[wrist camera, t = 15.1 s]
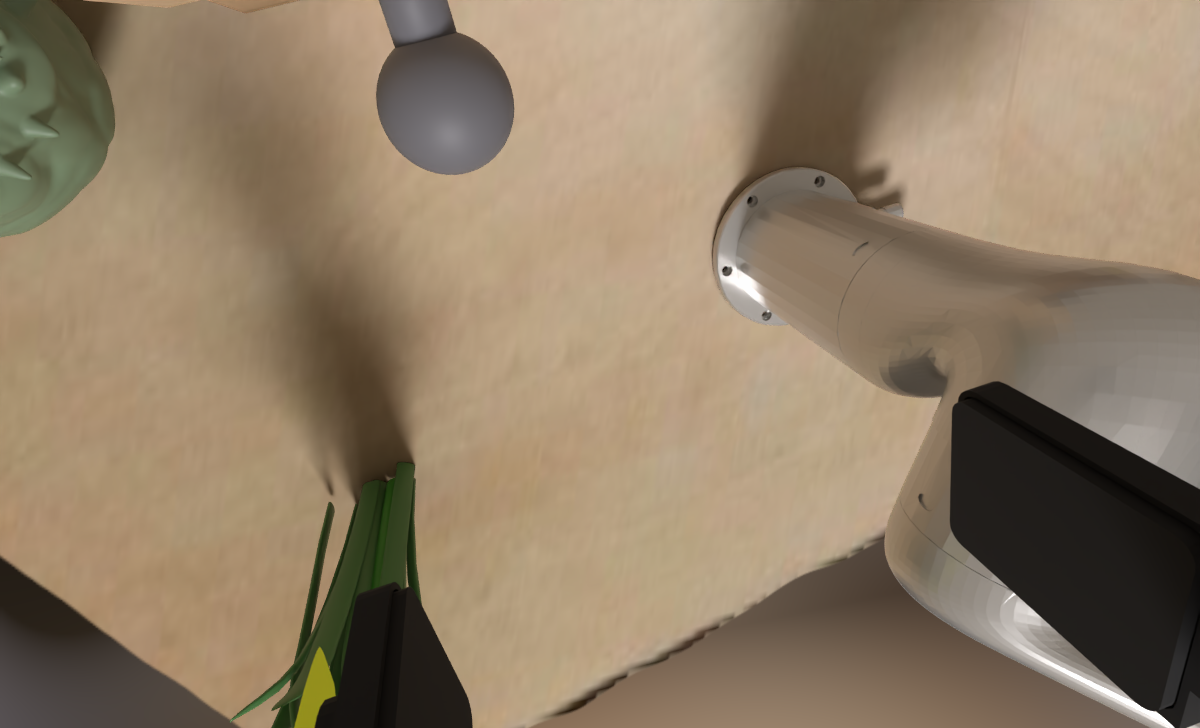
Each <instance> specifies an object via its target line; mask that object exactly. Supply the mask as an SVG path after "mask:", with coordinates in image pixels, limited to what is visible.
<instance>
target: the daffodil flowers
mask: <svg viewBox="0 0 1200 728" xmlns="http://www.w3.org/2000/svg"><path fill="white" fill-rule="evenodd" d="M414 471H415V465H414V464H411V463H406V462H400V463H397V469H396V476H395V478H392V479H391V480H389V481H388V482H387V483H386V482H384V481H380V480H373V481H371V482H367V483H365V484H364V485H363V488H362V492H361V496H360V500H359V504H355V507H354V511H353V514H352V518H351V522H350V525H349V529H348V533H347V536H346V540H345V544H344V547H343V550H342V553H341V556H340V559H339V562H338V565H337V568H336V571H335V574H334V577H333V580H332V583H331V586H330V589H329V592H328V595H327V598H326V600H325V603H324V605H323V608H322V610H321V613H320V615H319V618H318V620H317V623H316V625H315V628H314V630H313V632H312V633H311V629H312V624H313V619H314V613H315V608H316V603H317V597H318V591H319V586H320V580H321V574H322V569H323V563H324V558H325V552H326V548H327V543H328V539H329V534H330V530H331V526H332V521H333V517H334V512H335V510H334V506H333V504H332V503H331V502H329V503H328V507H327V511H326V515H325V519H324V523H323V527H322V531H321V535H320V539H319V543H318V548H317V554H316V559H315V564H314V569H313V574H312V579H311V584H310V589H309V594H308V599H307V604H306V609H305V614H304V619H303V624H302V629H301V633H300V638H299V643H298V648H297V652H296V656H295V661H294V664H293V665H292V666H291V667H290V669H289V670H288V671H287V672H286V673H285V674H284V675H283V676H282V677H281V679H280V680H279V681H277V682H276V683H275V684H274V685H273V686H271V687H270V688H269V689H268V690H267V691H265V692H264V693H263V694H262V695H261V696H259V697H258V698H257V699H255V700H254V701H253V702H252V703H250V704H249V705H248V706H246V707H245V708H244V709H243V710H241V711H240V712H239V713H238V714H237V715H236V716H234V717H233V718H232V719H231V720H230V722H231V721H233V720H234V719H236V718H238V717H240V716H242V715H243V714H245V713H247V712H249V711H250V710H252V709H254V708H255V707H257V706H259V705H260V704H262V703H263V702H264V701H266V700H267V699H269V698H270V697H271V696H273V695H274V694H276V693H277V692H278V691H280V690H281V688H282V687H283V686H284V685H285V684H286V683H287V682H288V681H289V680H290V679H291V682H290V688H289V690H288V692H287V694H286V695H285V696H284V697H283V698H282V699H281V700H280V701H279V702H278V703H277V704H275V706H274V707H273V708H272V710H271V711H273V710H275V709H277V708H280V707H281V708H280V710H279V712H278V714H277V717H276V719H275V721H274V723H273V725H272V728H315V723H316V718H317V715H318V712H319V709H320V706H321V705H322V703H323V702H324V701H325V700H326V699H329V698H331V697H334V696H337V695H338V692H339V687H340V681H341V676H342V670H343V665H344V659H345V654H346V649H347V643H348V638H349V632H350V627H351V621H352V616H353V611H354V605H355V601H356V597H357V596H358V594H359V593H362V592H365V591H368V590H371V589H374V588H377V587H380V586H383V585H386V584H389V583H392V582H396V583H397V584H399V586H400V587H401V589H404V588H406V564H407V576H408V585H409V587H412V588H413V590H414V591H415V593H416V595H417V597H418V599H419V601H420V603H421V595H420V588H419V580H418V573H417V564H416V544H415V524H414V512H415V483H416V479H415V478H414ZM421 605H422V603H421ZM329 666H330V669H329Z"/></svg>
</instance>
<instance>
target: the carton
mask: <svg viewBox="0 0 1200 728" xmlns="http://www.w3.org/2000/svg"><path fill="white" fill-rule="evenodd" d="M208 1H211V2H214V3H217V4H220V5H223V6H225V7H228V8H231V9H234V10H237V11H240V12H243V13H249V12H253V11H257V10H261V9H265V8H269V7H274V6H278V5H282V4H286V3H290V2H294V1H298V0H208Z"/></svg>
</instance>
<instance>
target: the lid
mask: <svg viewBox="0 0 1200 728" xmlns="http://www.w3.org/2000/svg"><path fill="white" fill-rule="evenodd" d="M85 1H97V2H108V3H120V4H132V5H143V6H155V7H167V8H170V7H174V6H178V5H182V4H186V3H190V2H195V1H199V0H85ZM379 2H380V5H381V8H382V11H383V14H384V17H385V20H386V23H387V26H388V28H389V31H390V34H391V37H392V40H393V43H394V46H395V49H394V50H393V51H392V52H391V53H390V55H389V56H388V57H387V59H386V61H385V63H384V64H383V66H382V69H381V72H380V74H379V78H378V83H377V92H376V100H377V109H378V114H379V118H380V121H381V124H382V126H383V129H384V131H385V133H386V135H387V136H388V138H389V140H390V141H391V142H392V144H393V145H394V146H395V148H396V149H397V150H398V151H399V152H400V153H401V154H402V155H403V156H404V157H406V158H407V159H408V160H409V161H411V162H412V163H414V164H415V165H417V166H419V167H421V168H423V169H425V170H428V171H431V172H434V173H439V174H445V175H458V174H464V173H468V172H471V171H474V170H477V169H479V168H481V167H482V166H484V165H486V164H487V163H489V162H490V161H491V160H492V159H493V158H494V157H495V156H496V155H497V154H498V153H499V152H500V151H501V149H502V148H503V146H504V145H505V143H506V141H507V139H508V137H509V134H510V131H511V128H512V124H513V118H514V99H513V94H512V89H511V86H510V83H509V80H508V78H507V76H506V73H505V71H504V70H503V68H502V66H501V65H500V63H499V62H498V60H497V59H496V58H495V57H494V55H493V54H492V53H491V52H490V51H489V50H488V49H487V48H485V47H484V46H483V45H481V44H480V43H479V42H477V41H476V40H474V39H472V38H470V37H468V36H466V35H463V34H461V33H457V32H456V28H455V25H454V22H453V18H452V15H451V11H450V8H449V5H448V1H447V0H379Z"/></svg>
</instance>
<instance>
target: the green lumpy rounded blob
mask: <svg viewBox="0 0 1200 728" xmlns="http://www.w3.org/2000/svg"><path fill="white" fill-rule="evenodd" d="M114 132H115V114H114V107H113V102H112V97H111V92H110V89H109V85H108V82H107V80H106V78H105V76H104V74H103V72H102V70H101V69H100V67H99V65H98V64H97V63H96V61H95V60H94V58H93V57H92V53H91V50H90V47H89V45H88V43H87V42H86V40H85V38H84V37H83V35H82V34H81V32H80V31H79V30H78V28H77V27H76V26H75V24H74V23H73V22H72V21H71V19H70V18H69V17H68V16H67V15H66V14H65V13H64V12H63V11H62V10H61V9H60V8H59V7H58V6H57V5H56V4H54V3H53V2H52V1H51V0H0V237H4V236H11V235H16V234H20V233H24V232H27V231H29V230H31V229H33V228H35V227H37V226H39V225H41V224H42V223H44V222H46V221H47V220H49V219H50V218H52V217H53V216H54V215H56V214H57V213H58V212H60V211H61V210H62V209H63V208H64V207H65V206H67V205H68V204H69V203H70V202H71V201H72V200H73V199H74V198H75V197H76V196H77V195H78V194H79V192H80V191H81V190H82V189H83V188H84V187H86V186H87V185H88V184H89V183H90V182H91V181H92V180H93V179H94V177H95V176H96V175H97V174H98V172H99V171H100V169H101V168H102V166H103V164H104V162H105V159H106V156H107V151H108V146H109V144H110V142H111V141H112V139H113V136H114Z"/></svg>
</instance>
